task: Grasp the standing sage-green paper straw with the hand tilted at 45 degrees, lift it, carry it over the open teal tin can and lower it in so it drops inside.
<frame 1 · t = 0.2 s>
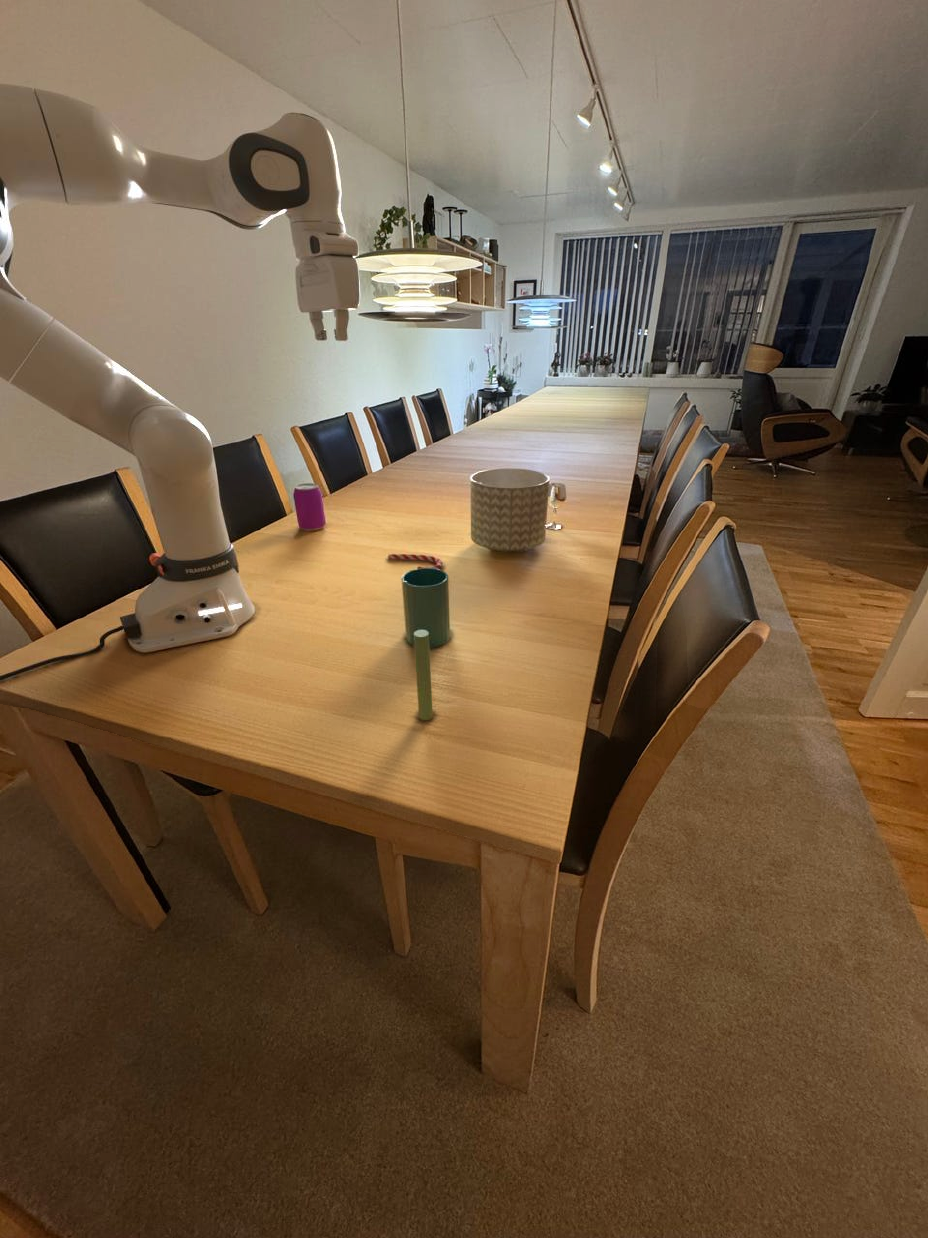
hand: (331, 340, 94), 48 cm above the table, tool pointing down, fingers open, 8 cm apart
beverage can: (312, 527, 149), on the table
straw: (425, 716, 75), on the table
planter: (507, 548, 133), on the table
candy cane: (414, 564, 124), on the table
tin can: (428, 636, 95), on the table
wineglass: (553, 527, 147), on the table
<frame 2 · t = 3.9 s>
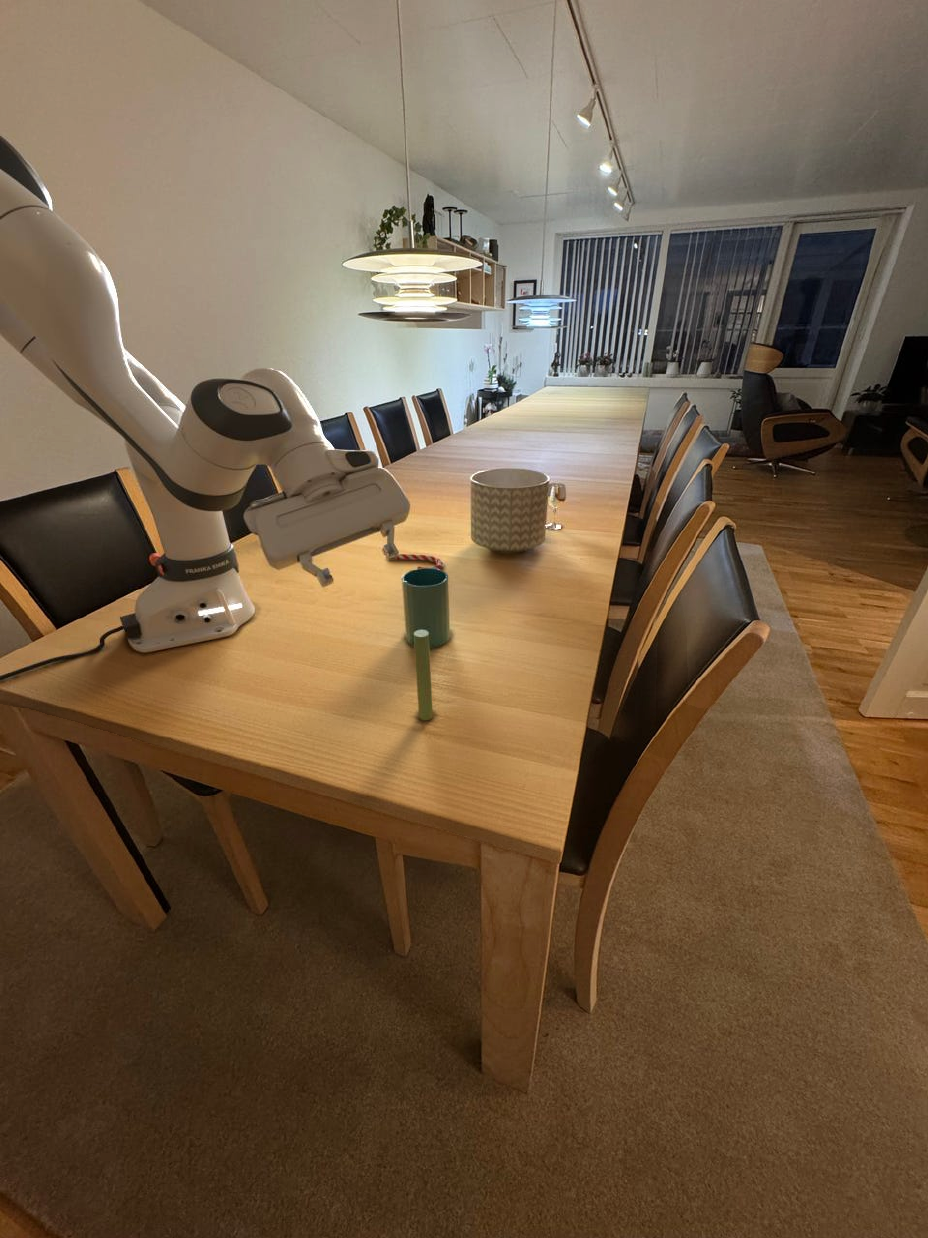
hand: (361, 570, 67), 22 cm above the table, tool tilted 45°, fingers open, 8 cm apart
nothing on the table moved.
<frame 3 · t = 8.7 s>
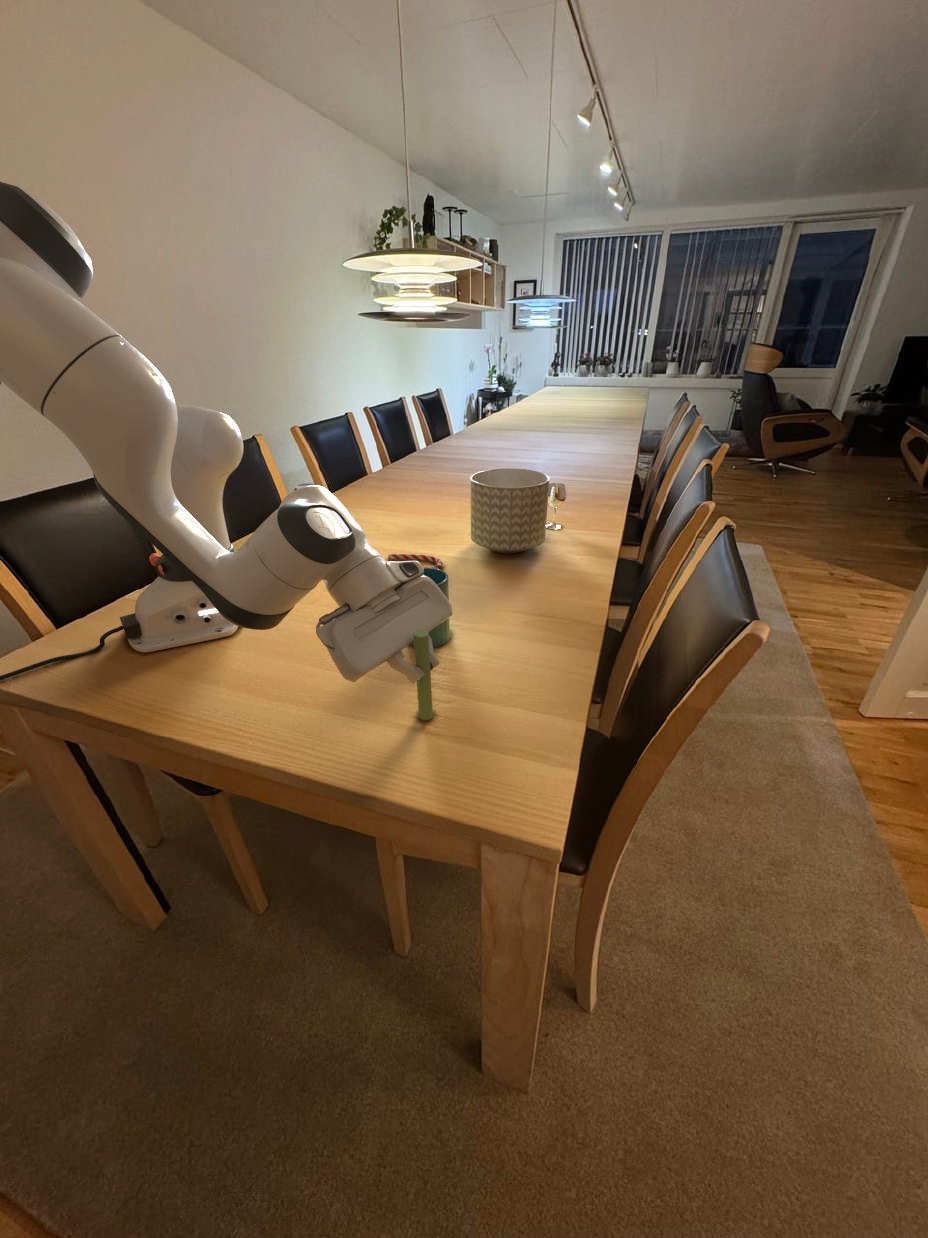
hand: (426, 673, 71), 8 cm above the table, tool tilted 45°, fingers closed on straw, 2 cm apart
straw: (425, 716, 75), on the table, touching gripper
everything else where it was.
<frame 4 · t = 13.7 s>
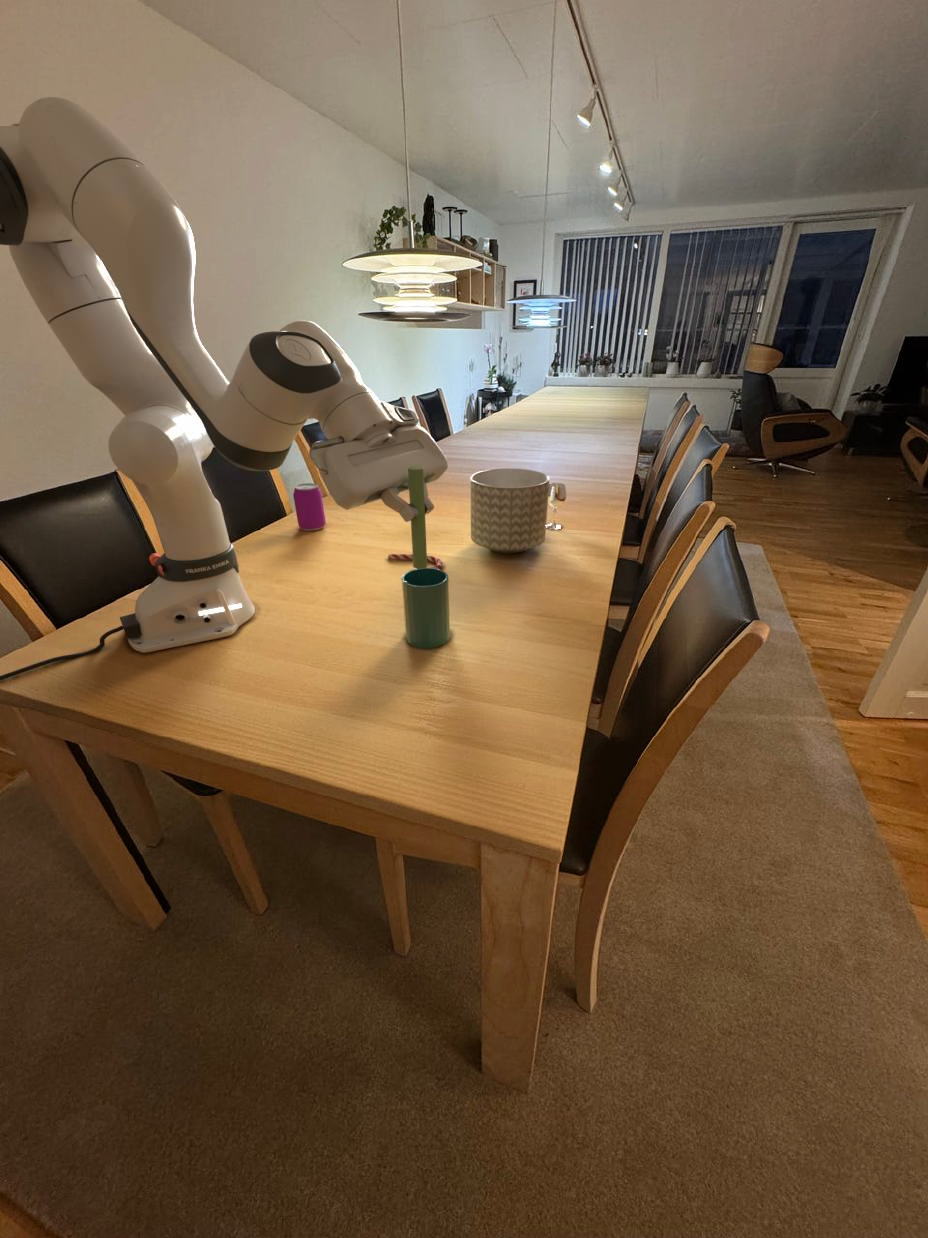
hand: (421, 515, 70), 27 cm above the table, tool tilted 45°, fingers closed on straw
straw: (420, 566, 74), point 19 cm above the table, touching gripper
everything else where it was.
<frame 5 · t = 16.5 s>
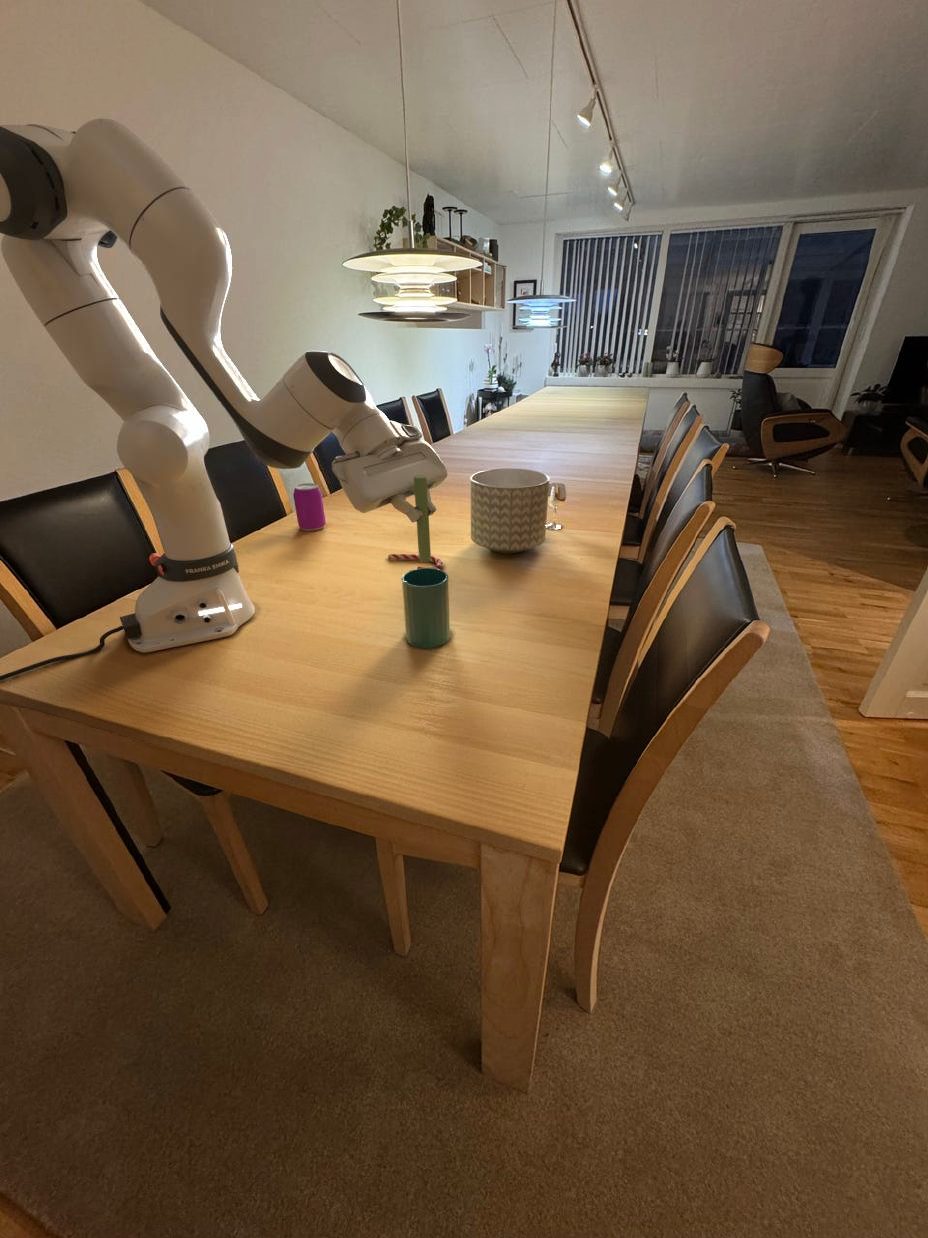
hand: (425, 516, 83), 23 cm above the table, tool tilted 45°, fingers closed on straw
straw: (425, 559, 87), point 15 cm above the table, touching gripper
everything else where it was.
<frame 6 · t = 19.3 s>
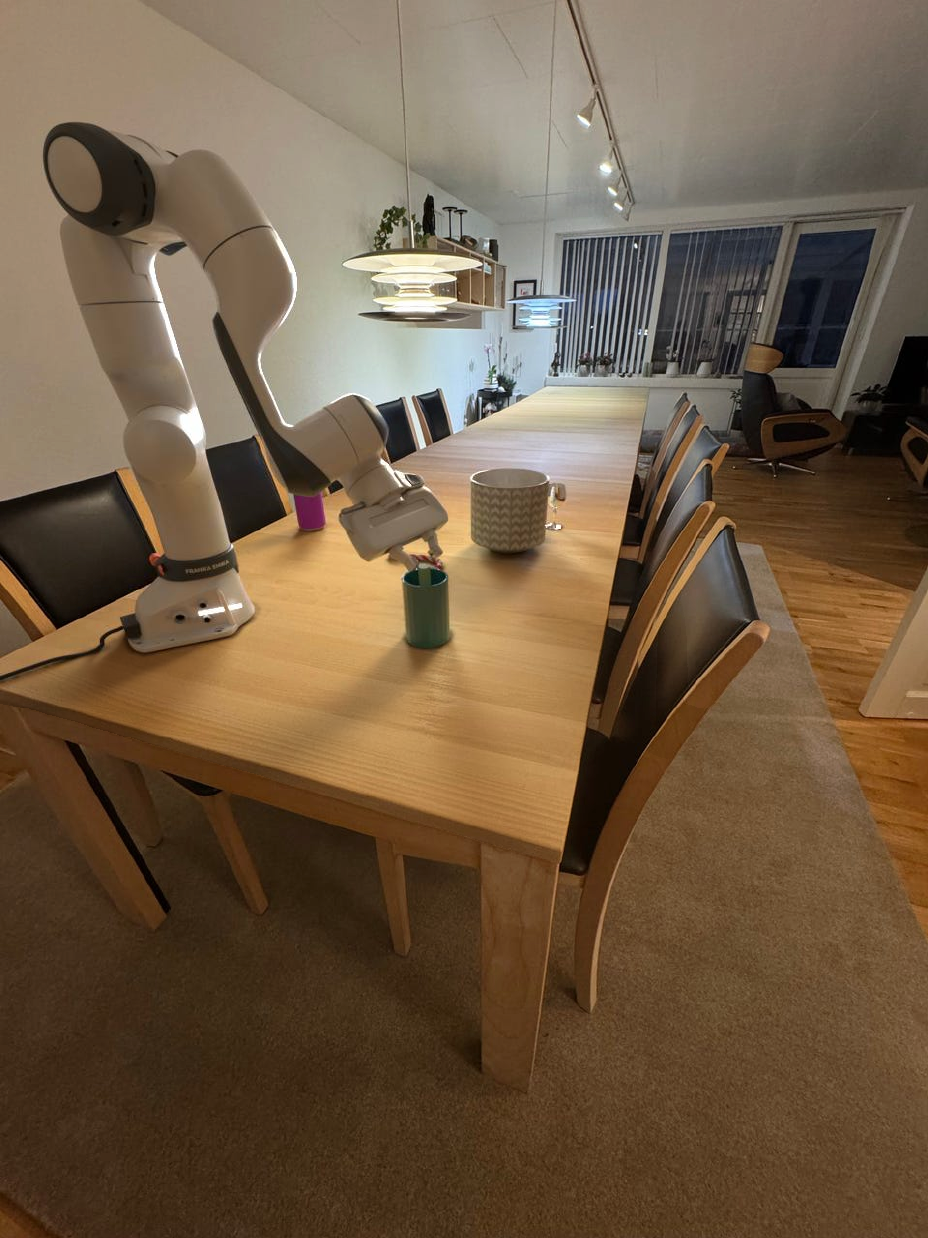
hand: (427, 562, 87), 15 cm above the table, tool tilted 45°, fingers open, 5 cm apart
straw: (428, 633, 94), point 1 cm above the table, touching tin can
tin can: (428, 636, 95), on the table, touching straw
everything else where it was.
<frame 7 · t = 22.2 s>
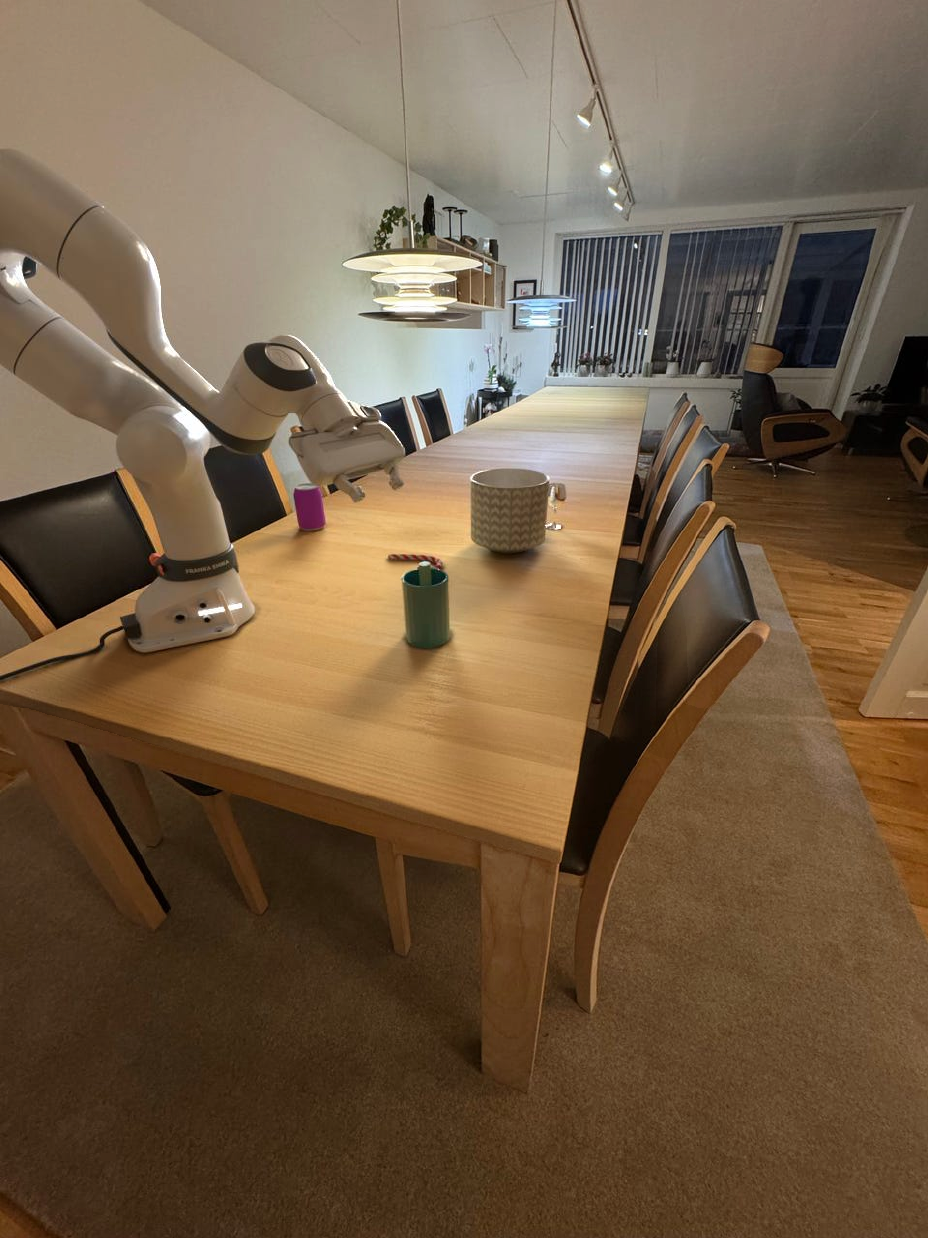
hand: (380, 493, 87), 25 cm above the table, tool tilted 45°, fingers open, 8 cm apart
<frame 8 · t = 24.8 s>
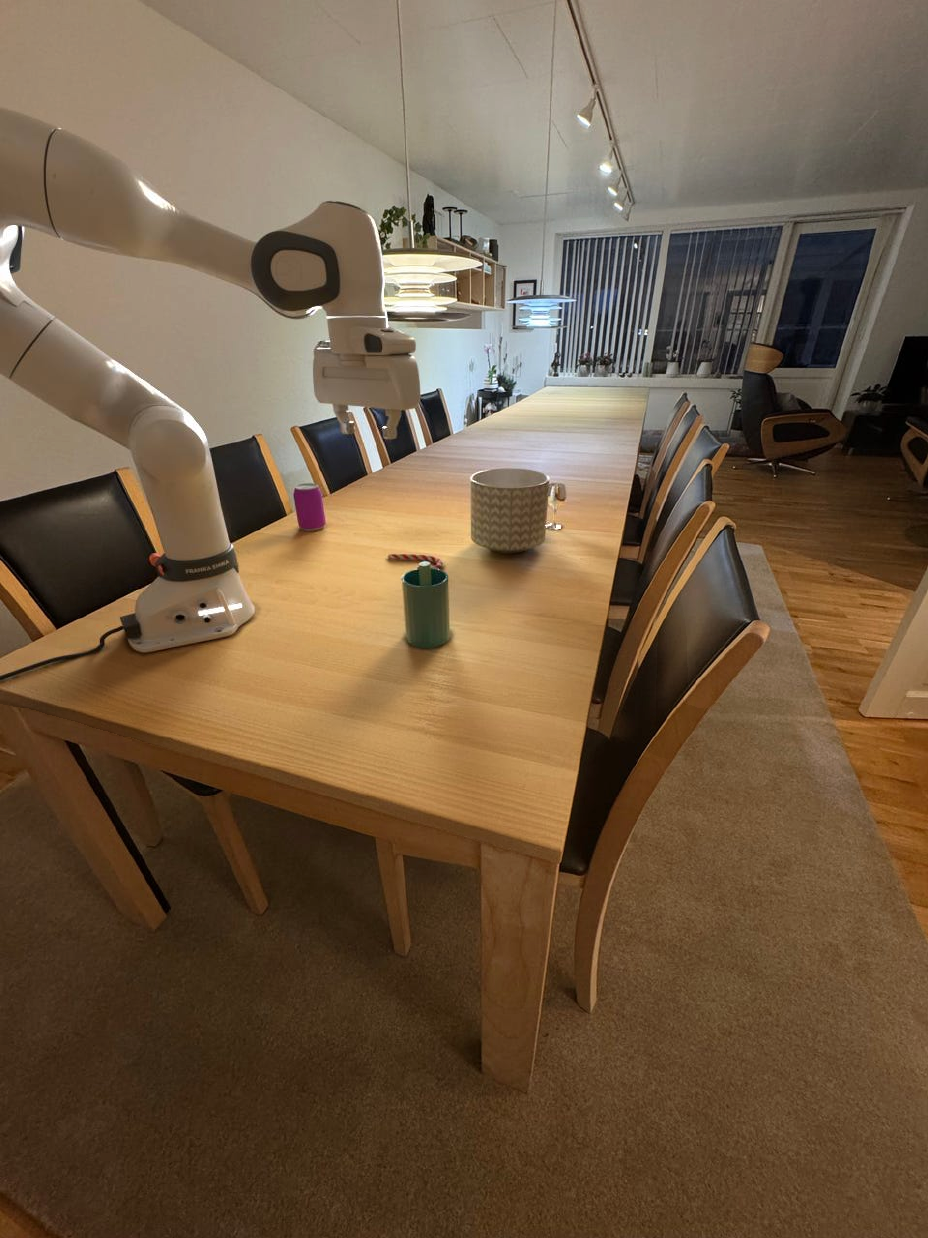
hand: (368, 435, 84), 34 cm above the table, tool pointing down, fingers open, 8 cm apart
nothing on the table moved.
at the end: straw 0.0 cm off-centre in the tin can, point 0.5 cm above the tin can's base; the gripper is holding nothing; tin can tilted 0° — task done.
